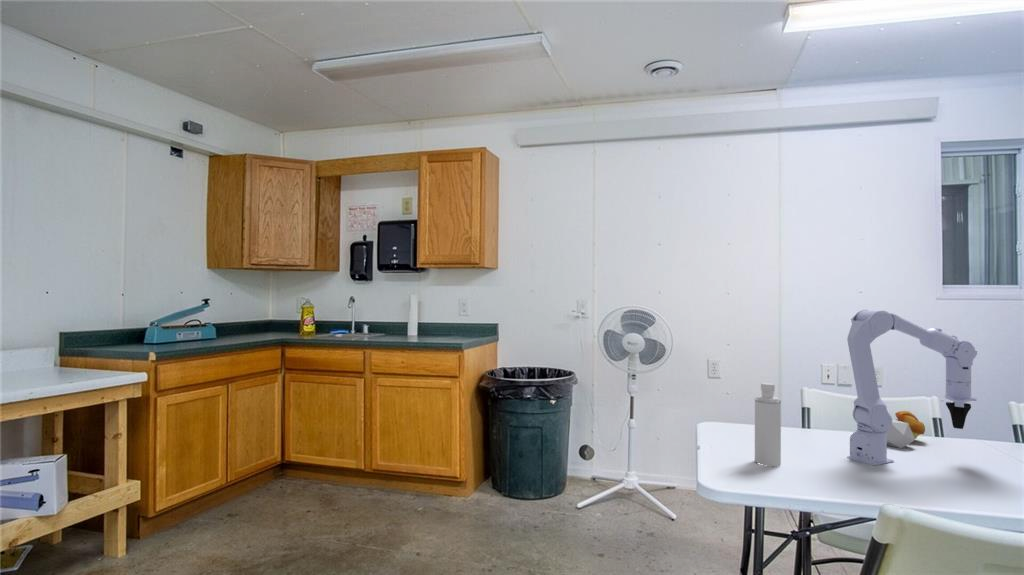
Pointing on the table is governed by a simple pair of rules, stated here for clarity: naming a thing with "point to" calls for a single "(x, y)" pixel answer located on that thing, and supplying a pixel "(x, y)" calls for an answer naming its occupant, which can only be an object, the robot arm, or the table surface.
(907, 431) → the die
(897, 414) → the cheeseburger
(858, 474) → the table surface
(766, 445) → the grey bottle
